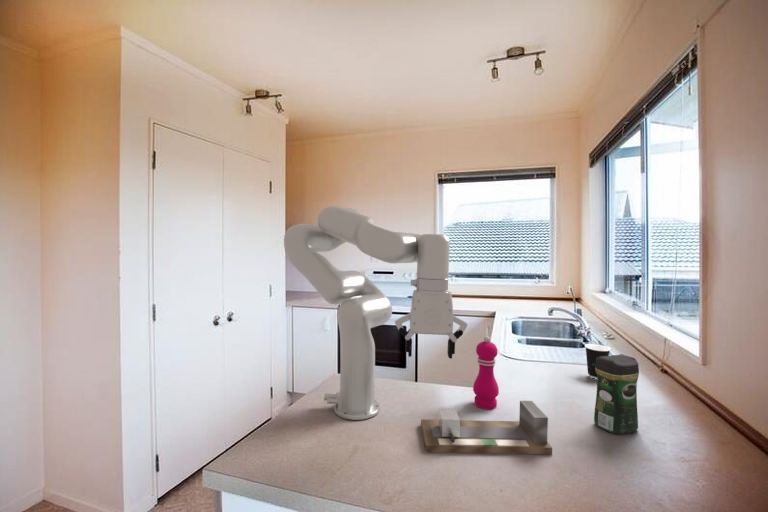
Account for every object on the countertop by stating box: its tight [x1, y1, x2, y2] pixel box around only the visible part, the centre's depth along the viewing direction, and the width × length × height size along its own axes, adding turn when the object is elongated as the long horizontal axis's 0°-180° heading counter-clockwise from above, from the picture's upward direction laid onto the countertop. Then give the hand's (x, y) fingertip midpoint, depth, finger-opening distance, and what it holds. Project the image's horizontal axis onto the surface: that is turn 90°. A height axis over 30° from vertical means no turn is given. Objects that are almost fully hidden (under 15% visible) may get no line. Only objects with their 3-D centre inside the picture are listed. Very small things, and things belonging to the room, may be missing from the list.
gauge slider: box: [438, 407, 461, 443], centre depth 85 cm, size 4×9×4 cm, turn 0°
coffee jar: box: [593, 353, 640, 435], centre depth 93 cm, size 10×8×19 cm
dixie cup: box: [584, 343, 611, 379], centre depth 129 cm, size 8×8×11 cm
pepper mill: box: [472, 335, 500, 410], centre depth 106 cm, size 7×7×20 cm
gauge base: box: [420, 400, 553, 455], centre depth 87 cm, size 28×12×8 cm, turn 90°
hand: (429, 355), depth 88 cm, fingers open, 9 cm apart
